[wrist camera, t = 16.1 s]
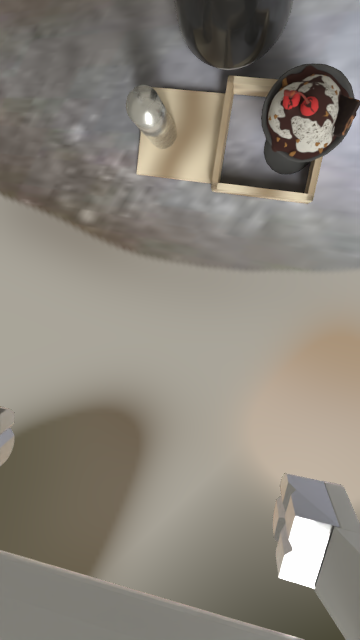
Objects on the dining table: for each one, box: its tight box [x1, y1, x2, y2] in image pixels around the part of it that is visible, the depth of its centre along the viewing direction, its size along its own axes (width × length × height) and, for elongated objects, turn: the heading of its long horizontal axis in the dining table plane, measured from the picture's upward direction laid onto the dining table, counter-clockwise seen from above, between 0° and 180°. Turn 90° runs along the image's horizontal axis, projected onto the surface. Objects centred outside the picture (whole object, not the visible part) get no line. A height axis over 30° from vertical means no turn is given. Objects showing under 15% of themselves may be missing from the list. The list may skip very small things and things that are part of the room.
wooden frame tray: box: [126, 76, 323, 204], centre depth 32 cm, size 19×10×8 cm, turn 82°
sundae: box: [261, 64, 360, 174], centre depth 28 cm, size 7×7×15 cm
